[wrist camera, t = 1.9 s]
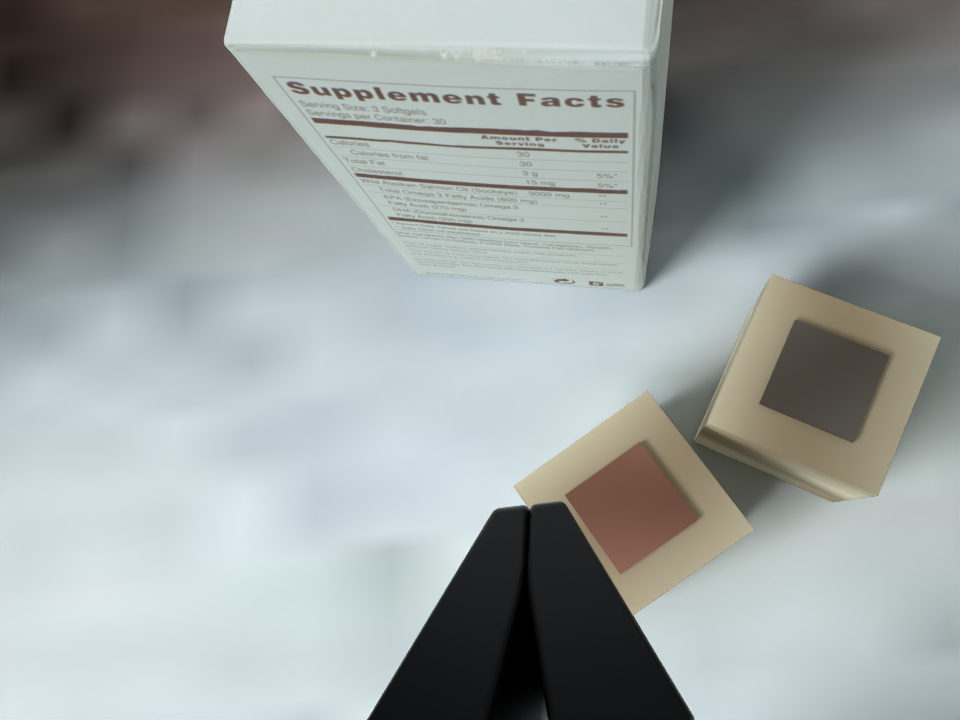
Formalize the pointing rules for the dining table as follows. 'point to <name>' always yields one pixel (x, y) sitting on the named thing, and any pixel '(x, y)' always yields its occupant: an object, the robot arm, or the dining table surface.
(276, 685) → the dining table surface
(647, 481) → the marked block
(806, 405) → the marked block
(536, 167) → the supplement box
